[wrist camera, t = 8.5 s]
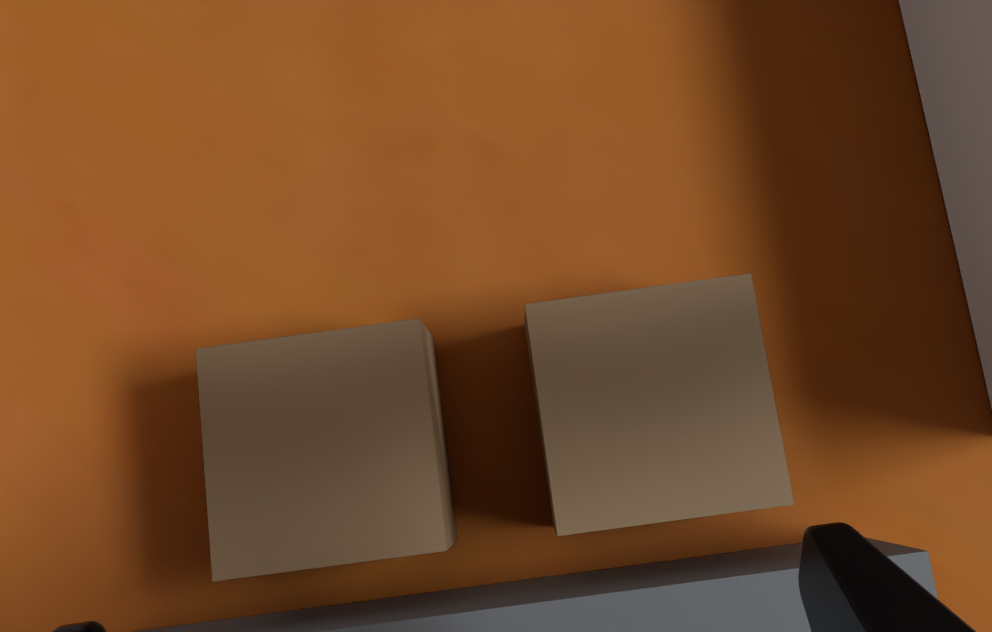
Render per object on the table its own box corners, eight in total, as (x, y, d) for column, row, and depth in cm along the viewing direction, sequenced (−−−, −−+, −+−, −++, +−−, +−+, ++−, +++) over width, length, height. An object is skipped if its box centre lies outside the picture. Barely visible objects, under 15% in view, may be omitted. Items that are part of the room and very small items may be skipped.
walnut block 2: (755, 498, 17) (794, 504, 15) (552, 526, 17) (557, 536, 15) (719, 299, 18) (750, 273, 15) (524, 326, 18) (524, 304, 15)
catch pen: (1039, 430, 17) (1195, 420, 13) (-62, 576, 17) (-238, 611, 13) (881, -237, 19) (972, -416, 15) (-77, -100, 20) (-229, -242, 16)
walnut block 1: (458, 538, 17) (447, 550, 15) (257, 564, 17) (212, 581, 15) (434, 338, 18) (419, 318, 15) (241, 364, 18) (195, 349, 15)
